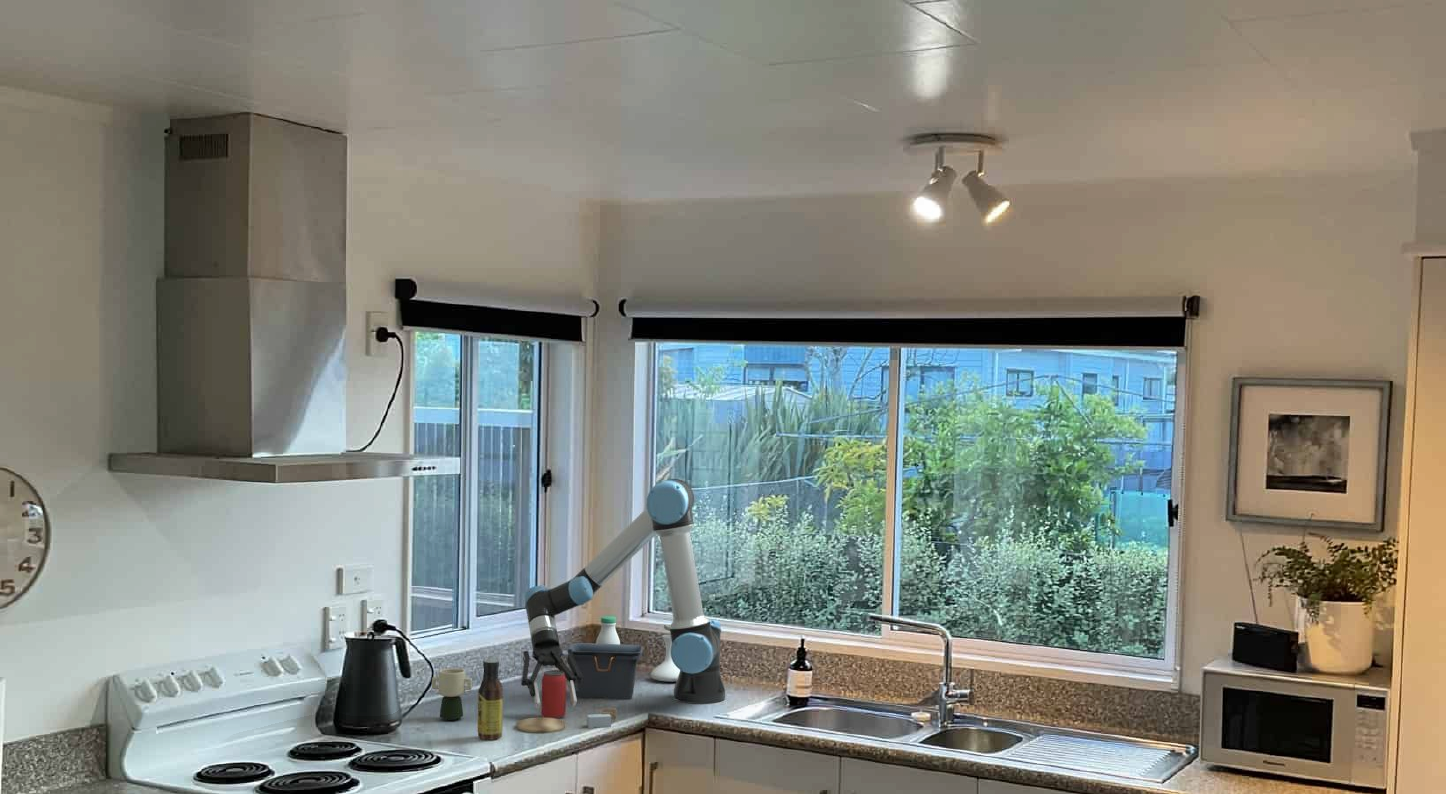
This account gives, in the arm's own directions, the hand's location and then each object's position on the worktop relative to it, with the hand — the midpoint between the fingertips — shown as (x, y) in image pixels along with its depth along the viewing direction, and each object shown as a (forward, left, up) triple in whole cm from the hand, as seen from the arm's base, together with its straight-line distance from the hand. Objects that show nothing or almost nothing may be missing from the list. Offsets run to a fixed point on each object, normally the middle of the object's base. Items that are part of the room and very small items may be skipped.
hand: (556, 704), depth 372 cm
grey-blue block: (-9, +11, -4) cm, 15 cm away
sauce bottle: (+21, +16, -4) cm, 27 cm away
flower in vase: (-46, -40, -4) cm, 61 cm away
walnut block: (-13, +6, -4) cm, 15 cm away
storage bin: (-20, -23, -4) cm, 31 cm away
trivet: (+6, +8, -4) cm, 11 cm away
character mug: (+27, -7, -4) cm, 28 cm away
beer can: (0, -3, -4) cm, 5 cm away
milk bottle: (-26, -42, -4) cm, 50 cm away
